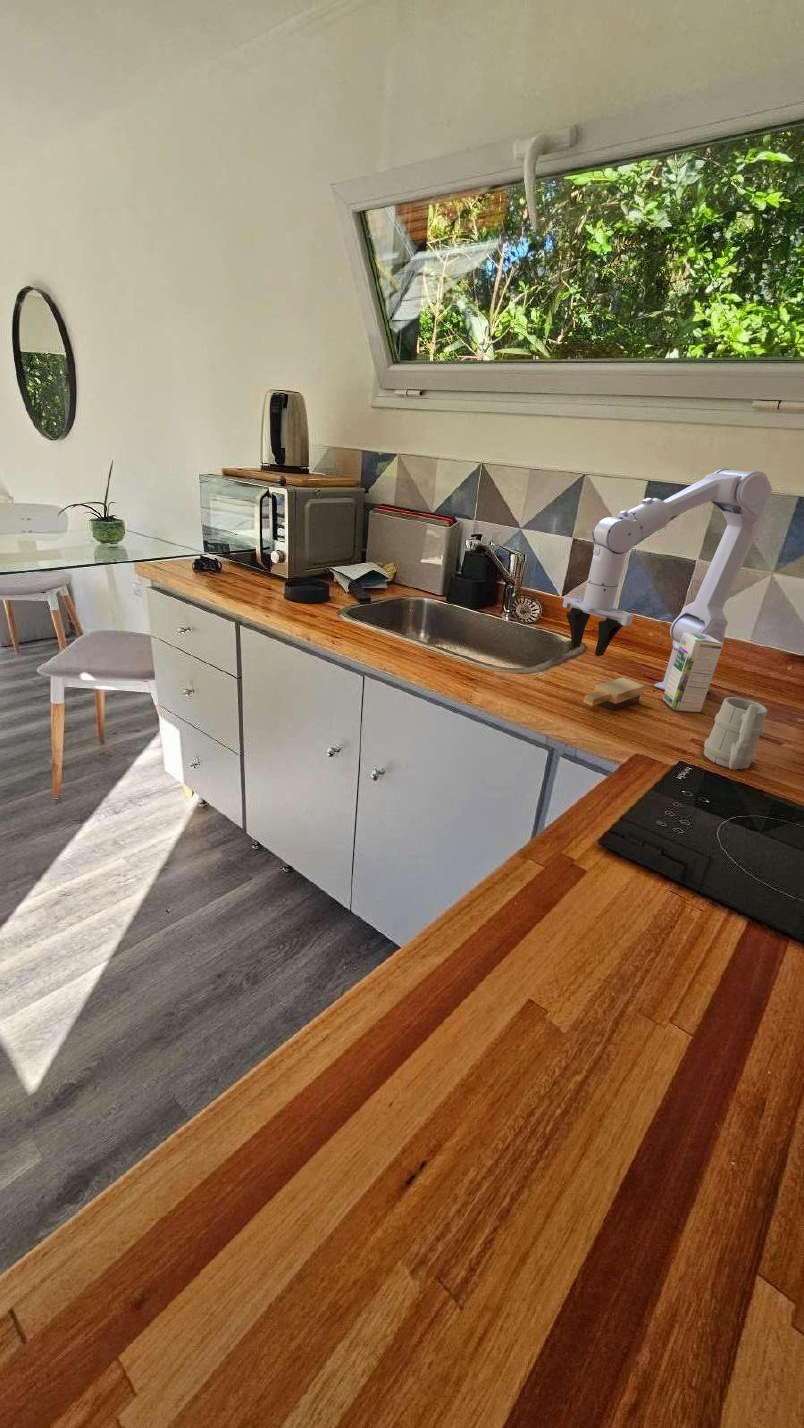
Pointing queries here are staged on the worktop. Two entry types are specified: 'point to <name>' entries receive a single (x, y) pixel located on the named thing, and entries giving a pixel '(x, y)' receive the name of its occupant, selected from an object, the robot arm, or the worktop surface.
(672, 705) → the syrup box
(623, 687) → the scrub brush
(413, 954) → the worktop surface
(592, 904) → the worktop surface
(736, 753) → the mug
